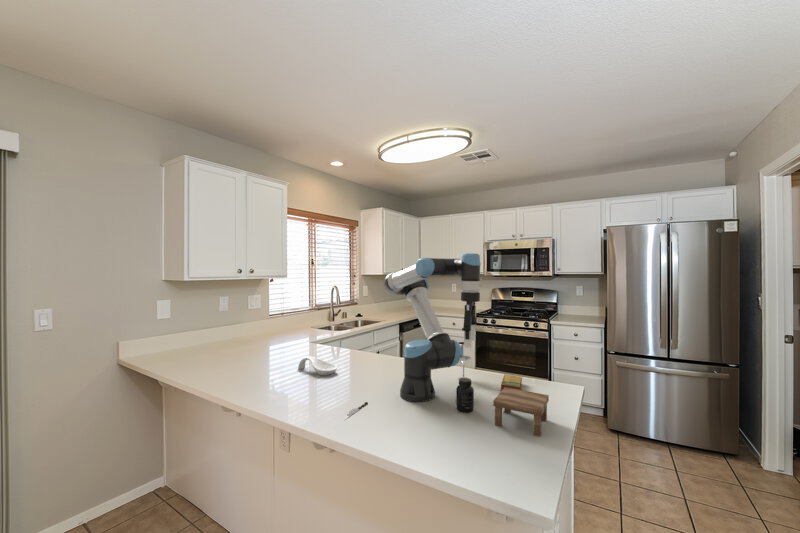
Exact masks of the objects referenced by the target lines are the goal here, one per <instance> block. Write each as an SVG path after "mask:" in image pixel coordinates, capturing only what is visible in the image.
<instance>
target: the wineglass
mask: <svg viewBox="0 0 800 533" xmlns="http://www.w3.org/2000/svg"><path fill="white" fill-rule="evenodd" d="M458 343H459V345H460V348H461V358H460V361H459V363H460V364H461V365H462V376H459V377H456V380H458V381H459V379H460V378H469V377H468V376H465V364H467V363H469V361H470V360H471V359H472V356H473V352H472V347H471V348H466V347H464V341H460V342H458ZM469 379H471V378H469Z"/></svg>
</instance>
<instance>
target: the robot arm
mask: <svg viewBox="0 0 800 533" xmlns="http://www.w3.org/2000/svg"><path fill="white" fill-rule="evenodd" d="M460 257H461V258H439V257H438V258H436V257H435V258H433V257H422V258H419V259H417V261H416V263H414V265H411V266H409V267H406V268H404V269H402V270H399V271H393V272H391V273H388V274H387V275H386V276H385V277H384V280H383V281H384V282H383V285H384V288H385V290H386V291H387V292H388V293H389V294H391V295H394V296H405V298H406V300H407V301H408V302H410V303H411V305H412V308H413V310H414V311H415V315H416V317H417V319H418V321H419V324H420V327H421V329H422V331H423V333H424V335H425V337H426V339H424V338H423V339H414V340H411V341H409V342H407V343H406V344H405V346H404V353H403V355H404V357H403V358H404V359H403V360H404V363H403V365H404V366H403V368H404V369H403V370H404V371H403V372H404V373H403V374H404V375H403V379H402V380H403V381H402V383H401V386H400V390H399V395H400V397H401V398H402V399H403V400H406V401H409V402H416V403H417V402H418V403H422V402H428V401H431V400H433V399H435V396H436V390H435V387H434V384H433V380H432V370H437V369H445V368H451V367H455V366H457V365H458V364H459V363H460V358H461V348H460V345H459V342H458V341H457V340H455V339H452V338H451V337H450V335H449V333H447V332H444V330H443V327H442V325H441V324H440V321H439V319H438V317H437V315H436V312H435V311H434V309H433V308H434V307H433V306H432V304H431V301H429V300H430V299H428V290H429V281H428V279H429V278H431V277H460V291H461V292H460V300H461V301H462V302H466V303H465V304H464V317H463V327H462V328H461V331H463V342H464V347H466V348H471V349H472V342H473V341H474V342H475V341H476V326H477V325H478V322H477V318H476V311H477V310H476V308H477V307H476V302H480V300H481V299H480V298H481V293H480V290H481V289H480V288H481V286H482V283H480V282H481V257H480V254H479V253H472V252H471V253H462V254H461V256H460Z"/></svg>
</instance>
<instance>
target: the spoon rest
mask: <svg viewBox="0 0 800 533" xmlns="http://www.w3.org/2000/svg"><path fill="white" fill-rule="evenodd" d="M307 361H310V363H311V365H312V367H313V369H314V371H315V372H316V373H317V374H319V375H320V376H329V375H332V374H334V373H335V372H337V370H338V366H337V365H336V364H333V363H331V362H328V361H325V360H323V359H320V358H317V357H314V356H307V357H305V358H302V359H301V360H300V361H299V364H298V368H297V369H298V370H301V369H302V370H303V369H305V368H306V363H307Z"/></svg>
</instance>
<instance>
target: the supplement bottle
mask: <svg viewBox="0 0 800 533" xmlns="http://www.w3.org/2000/svg"><path fill="white" fill-rule="evenodd" d="M455 389H456V391H455V395H456V396H455V402H456V403H455V404H456V405H455V408H456V411H457V412H459V413H462V414H471V413H473V412H474V411H475V410H474V409H475V407H474V406H475V402H474V401H475V389H474V387H473V385H472V380H471V378H470V379H469V377H467V378H460V379H459V380H458V385H457V386H456V388H455Z"/></svg>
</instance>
